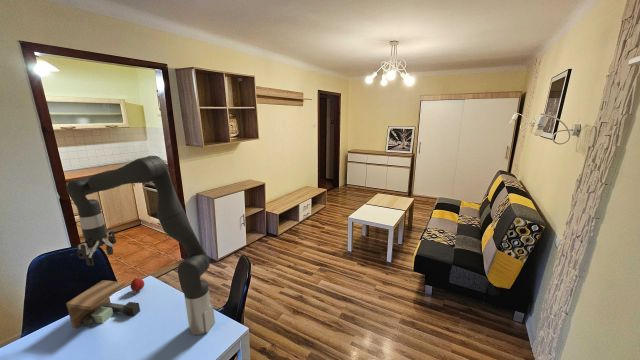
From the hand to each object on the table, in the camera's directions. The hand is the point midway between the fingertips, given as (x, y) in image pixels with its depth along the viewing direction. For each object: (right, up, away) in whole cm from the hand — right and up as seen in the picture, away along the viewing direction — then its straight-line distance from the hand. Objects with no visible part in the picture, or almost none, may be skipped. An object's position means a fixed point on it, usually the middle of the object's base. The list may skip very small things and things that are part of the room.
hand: (101, 259), depth 114 cm
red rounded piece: (+1, -23, +22) cm, 32 cm away
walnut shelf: (-4, -27, +5) cm, 28 cm away
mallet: (+1, -28, +4) cm, 28 cm away
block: (-2, -28, +4) cm, 28 cm away
